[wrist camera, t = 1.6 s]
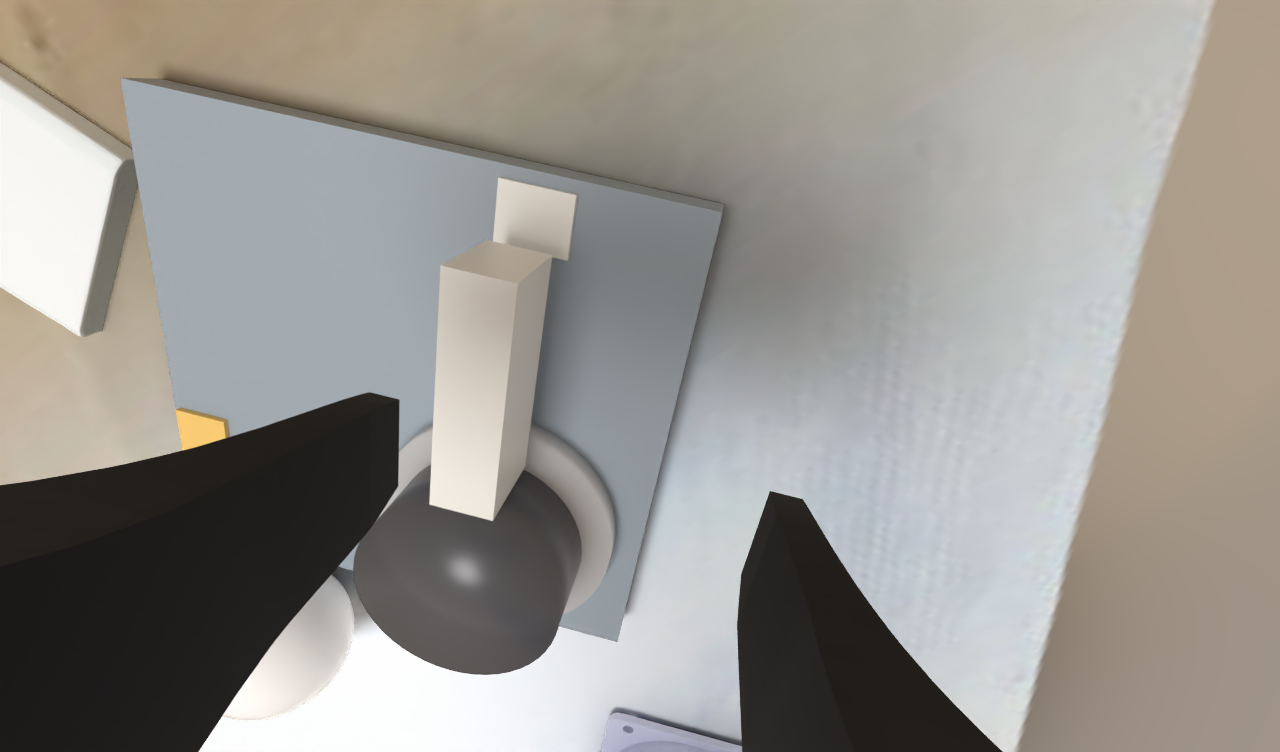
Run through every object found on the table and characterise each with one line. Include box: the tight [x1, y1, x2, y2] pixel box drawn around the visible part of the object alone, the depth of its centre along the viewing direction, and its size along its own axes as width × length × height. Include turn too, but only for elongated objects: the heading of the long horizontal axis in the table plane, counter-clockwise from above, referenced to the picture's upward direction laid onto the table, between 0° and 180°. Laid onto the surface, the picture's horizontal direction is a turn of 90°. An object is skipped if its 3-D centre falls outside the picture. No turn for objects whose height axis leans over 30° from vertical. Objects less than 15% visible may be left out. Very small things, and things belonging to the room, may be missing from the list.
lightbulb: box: [222, 574, 354, 721], centre depth 28 cm, size 6×6×11 cm
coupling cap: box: [353, 240, 582, 675], centre depth 20 cm, size 14×7×3 cm, turn 169°
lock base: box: [120, 78, 724, 642], centre depth 23 cm, size 19×18×2 cm
